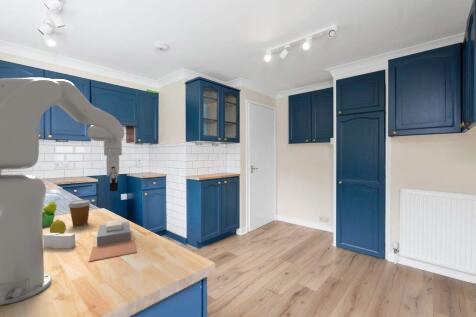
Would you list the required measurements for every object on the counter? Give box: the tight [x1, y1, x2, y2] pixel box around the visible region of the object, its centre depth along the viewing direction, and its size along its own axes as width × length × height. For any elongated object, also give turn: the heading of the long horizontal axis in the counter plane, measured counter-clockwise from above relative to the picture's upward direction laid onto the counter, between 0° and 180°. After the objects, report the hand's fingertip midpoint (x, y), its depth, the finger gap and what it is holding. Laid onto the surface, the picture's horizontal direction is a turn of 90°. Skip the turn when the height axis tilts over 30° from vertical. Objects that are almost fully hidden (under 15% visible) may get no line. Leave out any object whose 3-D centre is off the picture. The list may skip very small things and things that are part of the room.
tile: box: [105, 218, 123, 231], centre depth 101 cm, size 9×6×2 cm, turn 28°
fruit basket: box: [42, 201, 57, 228], centre depth 119 cm, size 11×9×11 cm
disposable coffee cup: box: [67, 199, 91, 227], centre depth 117 cm, size 10×10×12 cm
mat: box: [88, 239, 137, 263], centre depth 87 cm, size 13×15×1 cm
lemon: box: [49, 219, 67, 234], centre depth 100 cm, size 6×6×8 cm
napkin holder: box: [43, 232, 76, 249], centre depth 91 cm, size 15×11×6 cm
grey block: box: [96, 221, 132, 246], centre depth 99 cm, size 16×12×4 cm
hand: (114, 189), depth 109 cm, fingers open, 4 cm apart
